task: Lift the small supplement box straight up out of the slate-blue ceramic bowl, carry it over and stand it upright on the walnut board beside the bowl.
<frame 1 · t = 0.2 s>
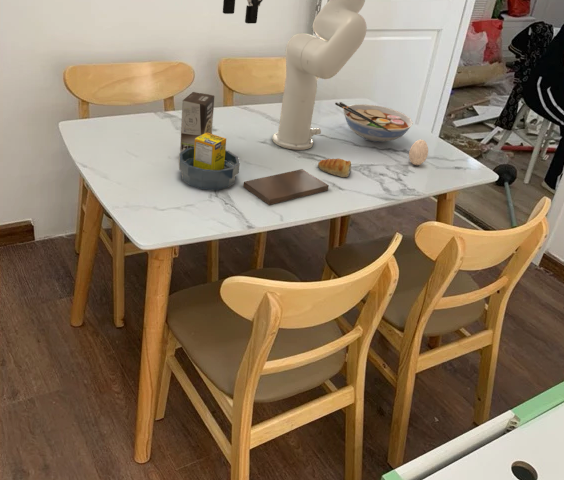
hand: (239, 18, 152), 37 cm above the table, tool pointing down, fingers open, 9 cm apart
bowl: (208, 177, 158), on the table
walnut board: (286, 188, 159), on the table
supplement box: (208, 178, 158), resting in bowl
ramen bowl: (373, 138, 199), on the table
coffee box: (195, 155, 169), on the table
egg: (415, 165, 185), on the table
pastry: (335, 172, 172), on the table
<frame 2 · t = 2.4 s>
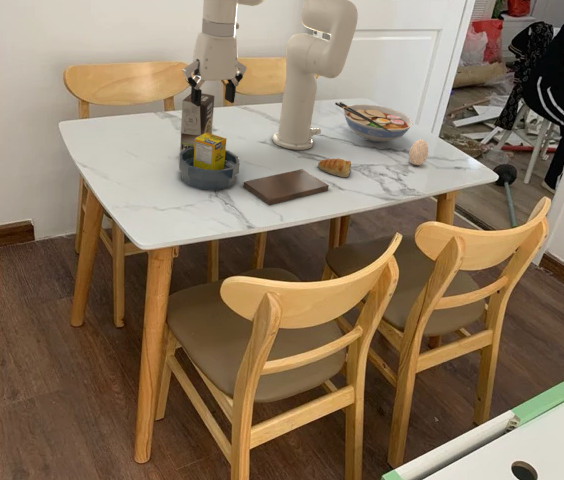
hand: (212, 102, 147), 20 cm above the table, tool pointing down, fingers open, 9 cm apart
nothing on the table moved.
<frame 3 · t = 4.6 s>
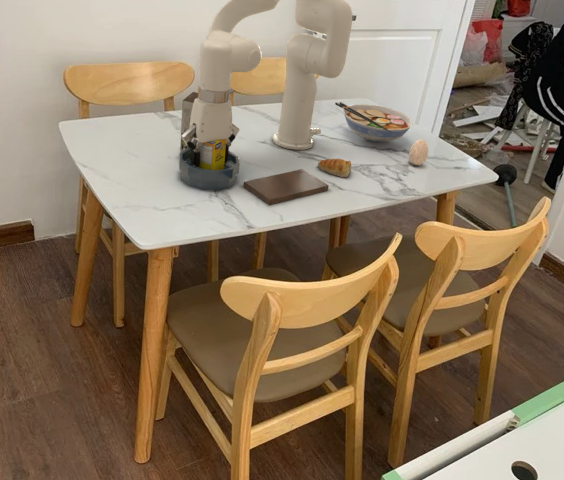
hand: (209, 161, 155), 5 cm above the table, tool pointing down, fingers closed on supplement box, 7 cm apart
supplement box: (208, 178, 158), resting in bowl, touching gripper
everything else where it was.
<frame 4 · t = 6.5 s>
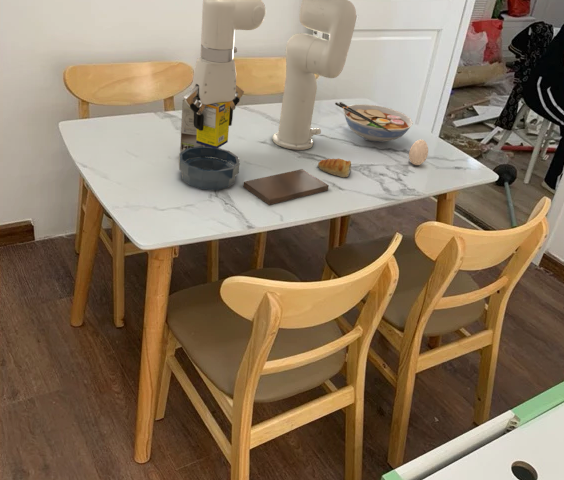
hand: (212, 125, 150), 14 cm above the table, tool pointing down, fingers closed on supplement box, 7 cm apart
supplement box: (212, 143, 153), point 9 cm above the table, touching gripper
everything else where it was.
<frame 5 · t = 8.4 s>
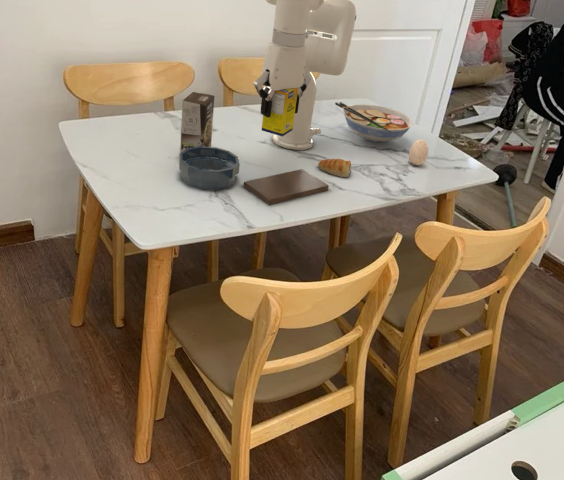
hand: (279, 113, 148), 20 cm above the table, tool pointing down, fingers closed on supplement box, 7 cm apart
supplement box: (276, 131, 150), point 15 cm above the table, touching gripper
everything else where it was.
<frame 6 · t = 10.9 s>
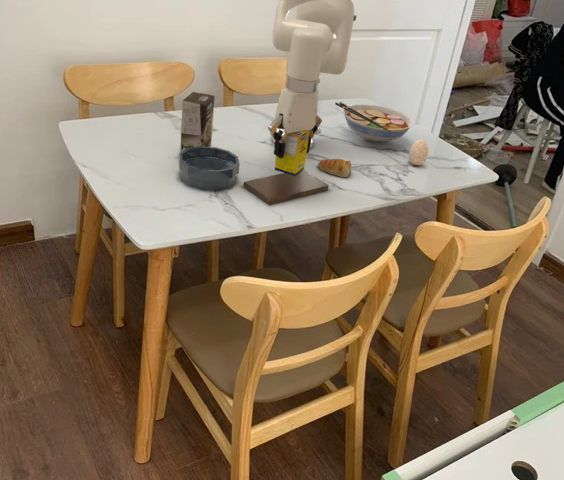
hand: (291, 153, 153), 10 cm above the table, tool pointing down, fingers closed on supplement box, 7 cm apart
supplement box: (288, 170, 156), point 5 cm above the table, touching gripper
everything else where it was.
when the fingers open (6 cm above the table, at t = 12.5 s): supplement box stays where it is, resting on walnut board.
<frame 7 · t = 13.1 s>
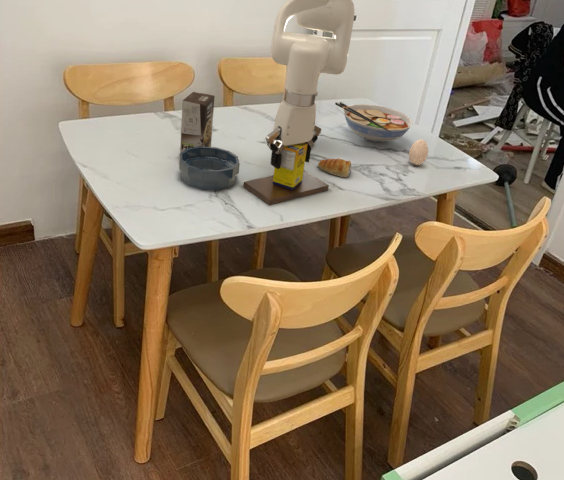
hand: (289, 163, 155), 7 cm above the table, tool pointing down, fingers open, 9 cm apart
supplement box: (286, 184, 158), point 1 cm above the table, touching walnut board
everything else where it was.
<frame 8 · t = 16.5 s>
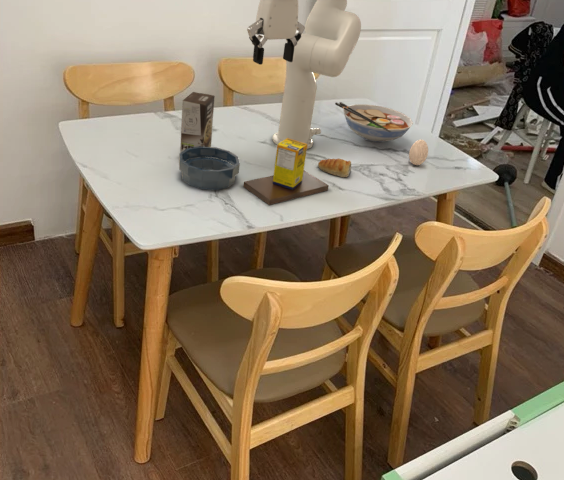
hand: (272, 61, 153), 28 cm above the table, tool pointing down, fingers open, 9 cm apart
nothing on the table moved.
at the end: supplement box inside the target area on the walnut board (0.0 cm from its centre), point 1.3 cm above the walnut board's base; supplement box tilted 0°; supplement box touching walnut board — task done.
